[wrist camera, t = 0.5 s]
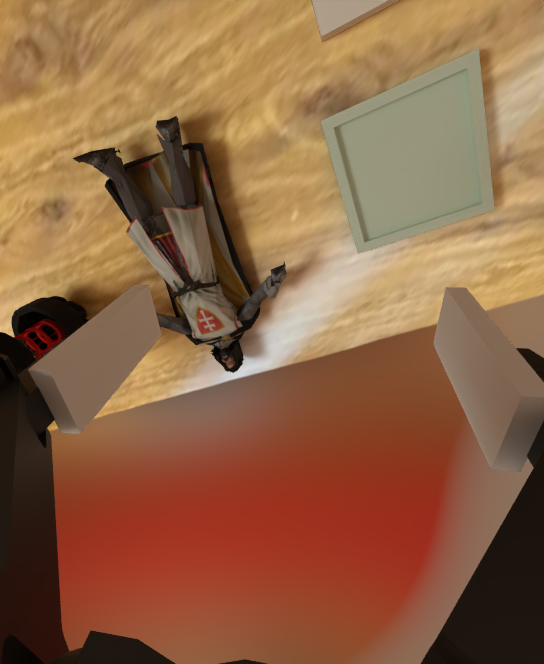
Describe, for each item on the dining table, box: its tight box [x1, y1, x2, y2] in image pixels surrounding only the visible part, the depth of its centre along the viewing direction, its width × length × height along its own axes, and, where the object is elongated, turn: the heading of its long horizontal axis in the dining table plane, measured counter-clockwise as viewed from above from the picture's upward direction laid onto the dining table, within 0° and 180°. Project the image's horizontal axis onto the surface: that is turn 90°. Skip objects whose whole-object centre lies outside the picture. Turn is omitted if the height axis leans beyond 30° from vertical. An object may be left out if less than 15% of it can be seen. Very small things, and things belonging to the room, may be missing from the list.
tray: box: [321, 49, 495, 254], centre depth 35 cm, size 14×14×2 cm
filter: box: [0, 296, 89, 374], centre depth 39 cm, size 14×9×30 cm
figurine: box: [73, 116, 286, 373], centre depth 42 cm, size 23×8×30 cm
